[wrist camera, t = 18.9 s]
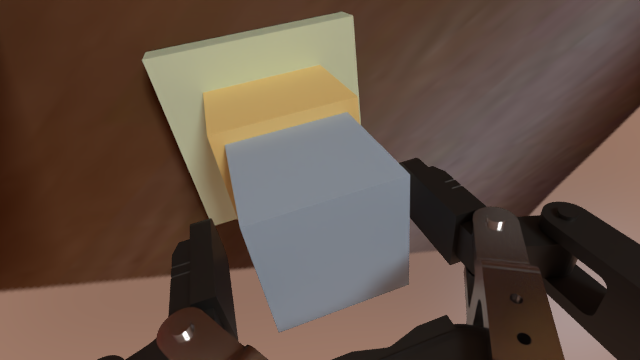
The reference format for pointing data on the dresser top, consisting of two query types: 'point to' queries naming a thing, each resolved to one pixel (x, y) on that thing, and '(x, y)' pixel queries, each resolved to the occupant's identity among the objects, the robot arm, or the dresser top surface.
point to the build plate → (236, 68)
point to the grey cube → (321, 216)
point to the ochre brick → (272, 109)
